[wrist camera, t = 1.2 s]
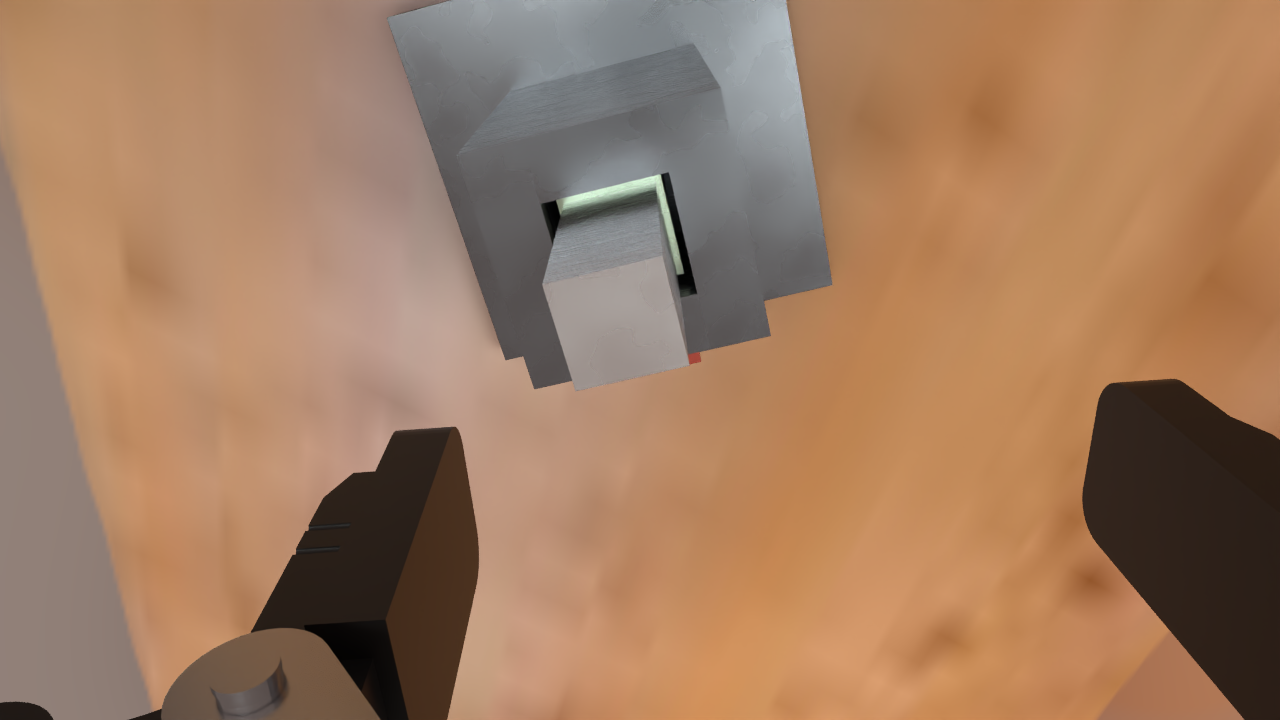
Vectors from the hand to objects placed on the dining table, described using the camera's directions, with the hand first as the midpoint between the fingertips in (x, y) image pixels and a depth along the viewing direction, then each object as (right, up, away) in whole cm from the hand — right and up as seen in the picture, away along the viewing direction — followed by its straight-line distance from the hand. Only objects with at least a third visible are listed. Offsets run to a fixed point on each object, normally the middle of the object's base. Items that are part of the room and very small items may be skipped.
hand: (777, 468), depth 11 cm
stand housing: (-2, +11, +29) cm, 31 cm away
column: (-2, +10, +27) cm, 29 cm away
